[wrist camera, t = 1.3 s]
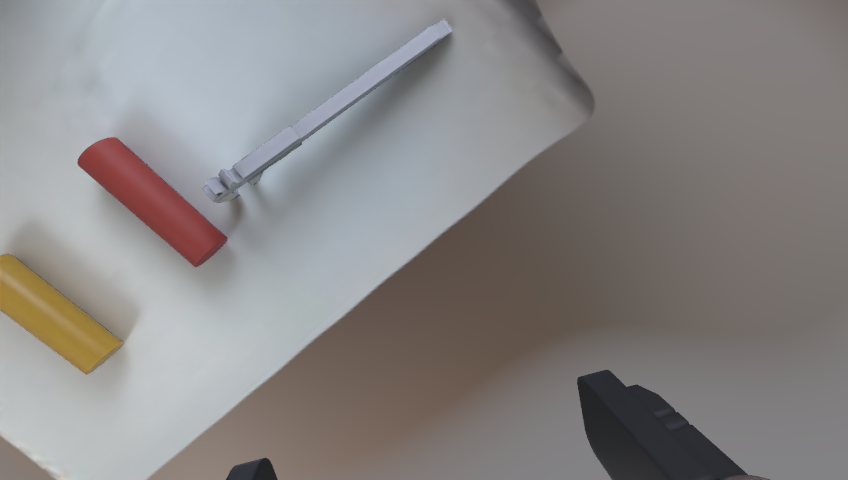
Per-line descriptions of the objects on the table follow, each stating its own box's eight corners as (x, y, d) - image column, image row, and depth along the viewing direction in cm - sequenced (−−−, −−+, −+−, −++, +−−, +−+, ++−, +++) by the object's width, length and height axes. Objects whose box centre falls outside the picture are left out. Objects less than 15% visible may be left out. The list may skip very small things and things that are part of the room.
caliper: (237, 199, 31) (198, 209, 25) (227, 187, 30) (186, 195, 24) (452, 32, 29) (468, -1, 23) (443, 19, 29) (457, -18, 23)
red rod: (100, 167, 29) (67, 167, 27) (127, 138, 29) (97, 136, 26) (207, 261, 31) (188, 271, 28) (233, 235, 31) (217, 242, 28)
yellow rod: (-4, 276, 30) (-47, 289, 28) (21, 250, 30) (-19, 259, 27) (106, 361, 32) (77, 381, 30) (131, 337, 32) (104, 354, 29)
